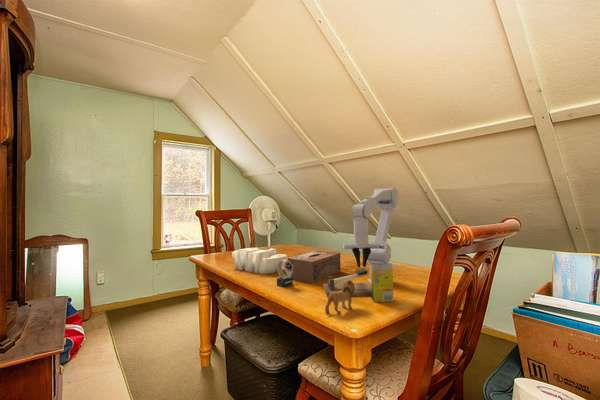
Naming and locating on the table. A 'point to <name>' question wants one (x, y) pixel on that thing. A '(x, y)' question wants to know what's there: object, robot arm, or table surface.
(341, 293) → the lion figurine
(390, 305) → the table surface
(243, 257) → the wavy white extrusion
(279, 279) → the watch
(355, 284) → the base
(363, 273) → the lever
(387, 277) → the crayon box
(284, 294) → the table surface
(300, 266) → the tissue box cover
